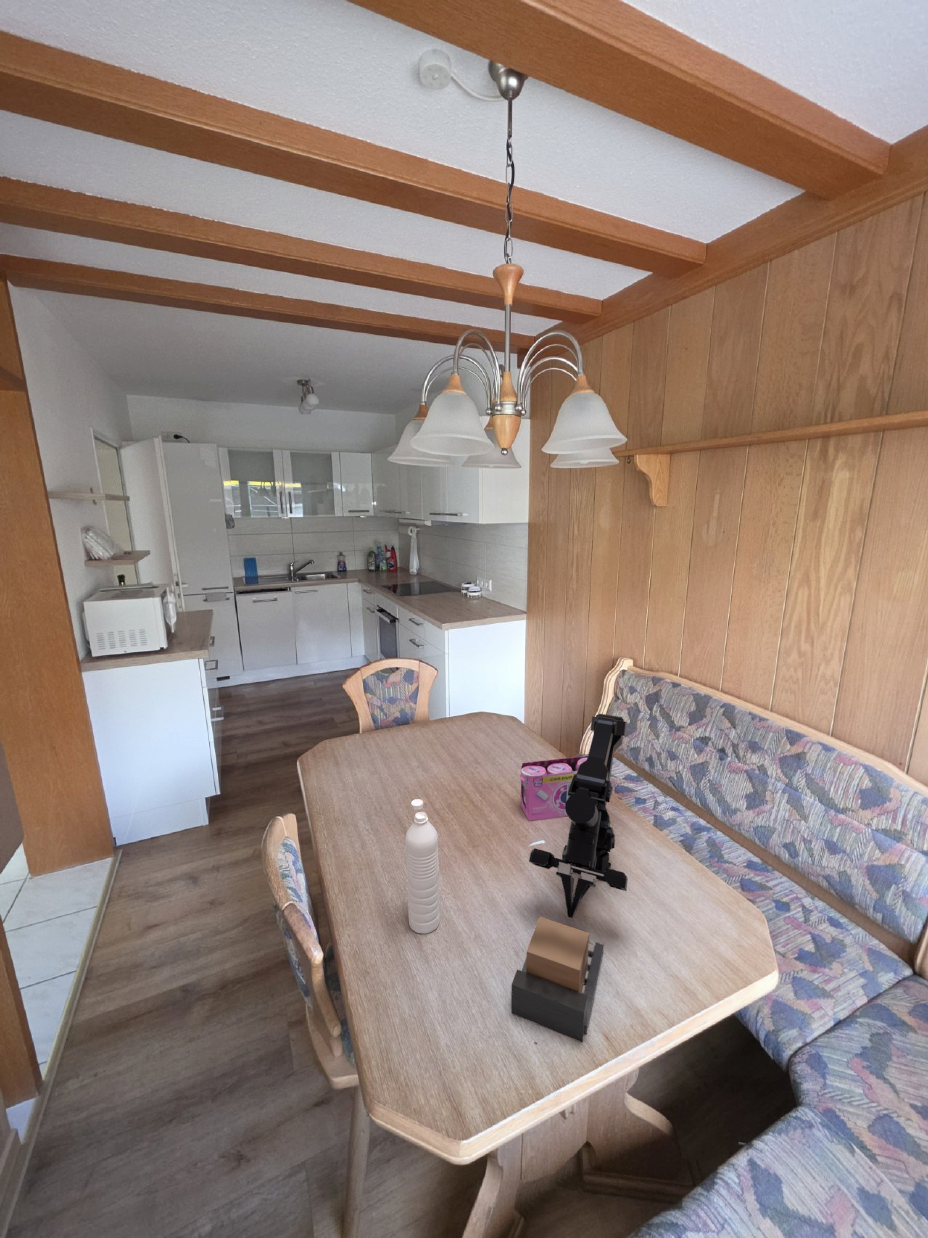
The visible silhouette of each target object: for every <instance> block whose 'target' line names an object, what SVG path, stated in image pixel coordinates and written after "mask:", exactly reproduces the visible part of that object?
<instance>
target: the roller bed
mask: <svg viewBox="0 0 928 1238" xmlns="http://www.w3.org/2000/svg"><path fill="white" fill-rule="evenodd" d="M604 948H605V945H604V943H600V942H596V941H595V943H594V944H593V943H591V942H589V946H588V965H587V971H586V976H585V980H584V984H583V989H582V993H579V992H576V991H573V990H571V989H568V988H565V987H563V986H560V985H557V984H555V983H552V982H549V981H547V980H544V979H541V978H539V977H536V976H533V975H531V974H528V973H526V960H527V956H526V958H525V961H524V963H523V966H522V969H521V970H519V969H516V971H515V974H514V977H513V980H512V982H511V996H510V997H511V999H510V1001H511V1002H510V1003H511V1004H510V1005H511V1007H510V1008H511V1009H510V1010H511V1012H510V1013H511V1014H513V1015H516V1016H518V1017H520V1018H522V1019H525V1020H527V1021H528V1022H532V1023H534V1024H537V1025H539V1026H541V1027H545V1028H546V1029H549V1030H551V1031H553V1032H556V1033H559V1034H561V1035H564V1036H565V1037H568V1038H570V1039H572V1040H576V1041H577V1042H580V1043H583V1042H584V1037H585V1035H586V1036H587V1034H588V1029H589V1025H590V1018H591V1015H592V1010H593V1005H594V1000H595V994H596V990H597V986H598V980H599V976H600V970H601V965H602V961H603V956H604V951H605V950H604Z"/></svg>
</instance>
